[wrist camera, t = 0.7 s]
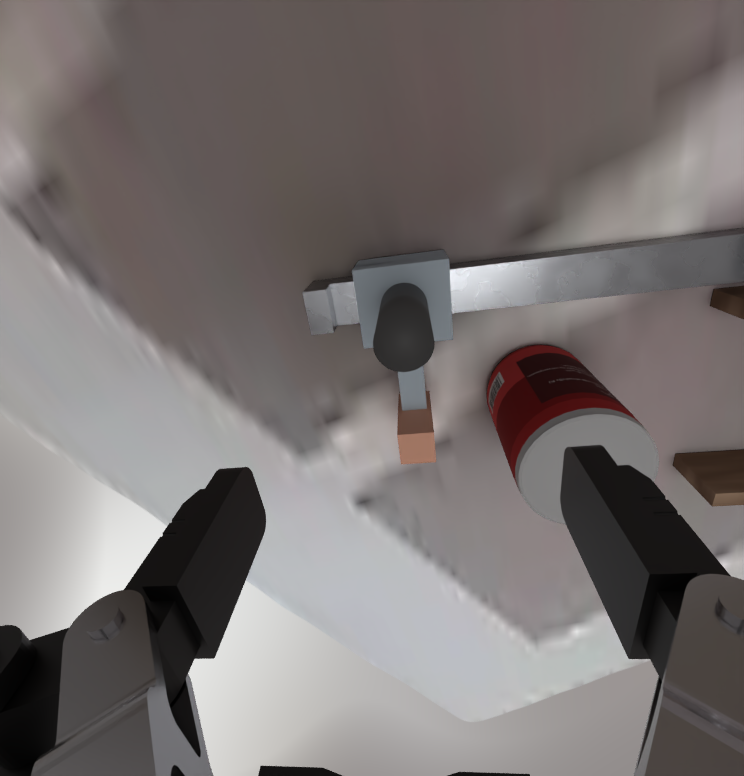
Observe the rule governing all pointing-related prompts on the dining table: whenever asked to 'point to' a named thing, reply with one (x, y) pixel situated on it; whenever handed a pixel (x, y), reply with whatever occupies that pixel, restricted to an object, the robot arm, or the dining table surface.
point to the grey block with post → (406, 333)
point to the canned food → (559, 422)
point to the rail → (560, 276)
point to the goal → (718, 468)
